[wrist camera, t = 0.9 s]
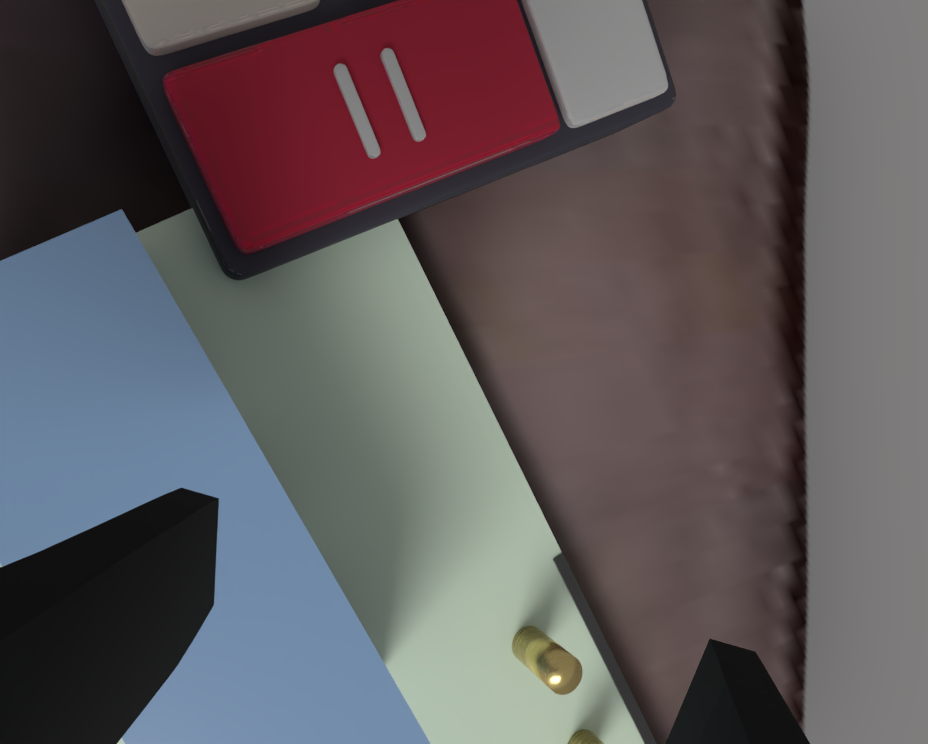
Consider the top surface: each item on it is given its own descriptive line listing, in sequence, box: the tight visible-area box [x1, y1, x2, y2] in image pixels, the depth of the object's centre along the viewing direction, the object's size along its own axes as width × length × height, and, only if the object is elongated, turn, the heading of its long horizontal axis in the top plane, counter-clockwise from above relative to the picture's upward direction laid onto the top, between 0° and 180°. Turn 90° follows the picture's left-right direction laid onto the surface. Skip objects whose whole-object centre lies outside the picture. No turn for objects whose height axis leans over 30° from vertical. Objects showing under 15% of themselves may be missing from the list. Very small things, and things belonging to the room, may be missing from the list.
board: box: [0, 208, 644, 744], centre depth 23 cm, size 16×30×1 cm, turn 27°
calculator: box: [94, 0, 676, 280], centre depth 21 cm, size 11×4×15 cm
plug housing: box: [0, 209, 430, 744], centre depth 18 cm, size 5×14×6 cm, turn 27°
